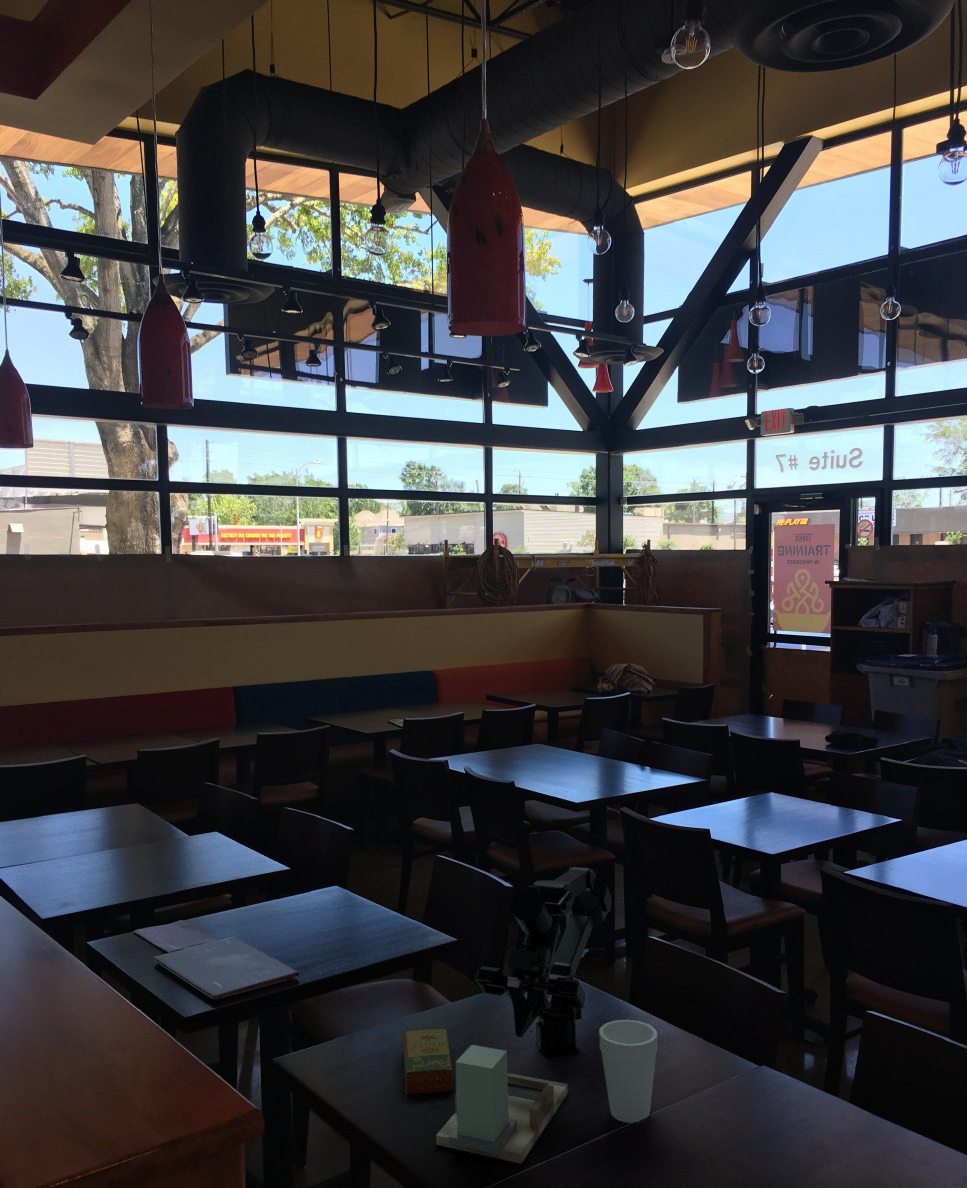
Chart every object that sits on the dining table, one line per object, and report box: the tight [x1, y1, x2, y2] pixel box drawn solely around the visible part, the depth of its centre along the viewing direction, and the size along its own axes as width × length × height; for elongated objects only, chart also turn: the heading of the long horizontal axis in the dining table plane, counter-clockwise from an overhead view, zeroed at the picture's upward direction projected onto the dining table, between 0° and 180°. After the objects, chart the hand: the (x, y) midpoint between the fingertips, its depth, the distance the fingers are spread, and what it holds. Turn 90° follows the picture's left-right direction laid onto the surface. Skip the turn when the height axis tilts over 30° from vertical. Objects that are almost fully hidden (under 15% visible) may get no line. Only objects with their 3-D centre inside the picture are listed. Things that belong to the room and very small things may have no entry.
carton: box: [402, 1028, 454, 1095], centre depth 173 cm, size 8×16×4 cm, turn 6°
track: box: [435, 1073, 569, 1165], centre depth 156 cm, size 22×14×4 cm, turn 157°
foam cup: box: [598, 1019, 659, 1124], centre depth 157 cm, size 10×9×13 cm
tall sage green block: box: [449, 1044, 517, 1154], centre depth 148 cm, size 8×8×12 cm
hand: (518, 1036), depth 162 cm, fingers closed
